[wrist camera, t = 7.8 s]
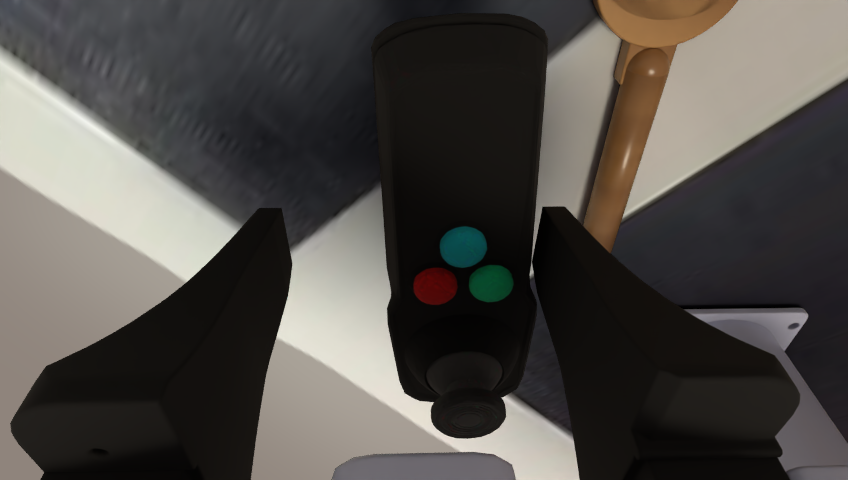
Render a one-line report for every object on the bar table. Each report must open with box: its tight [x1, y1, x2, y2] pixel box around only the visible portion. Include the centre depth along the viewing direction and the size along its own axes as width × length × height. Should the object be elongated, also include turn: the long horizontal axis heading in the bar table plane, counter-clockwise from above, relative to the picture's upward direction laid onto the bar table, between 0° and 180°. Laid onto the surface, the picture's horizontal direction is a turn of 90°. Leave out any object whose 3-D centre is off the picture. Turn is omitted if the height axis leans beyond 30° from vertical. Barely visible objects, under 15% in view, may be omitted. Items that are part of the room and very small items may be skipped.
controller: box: [371, 13, 548, 439], centre depth 16 cm, size 4×12×10 cm, turn 2°
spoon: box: [583, 0, 738, 254], centre depth 19 cm, size 17×6×1 cm, turn 179°
